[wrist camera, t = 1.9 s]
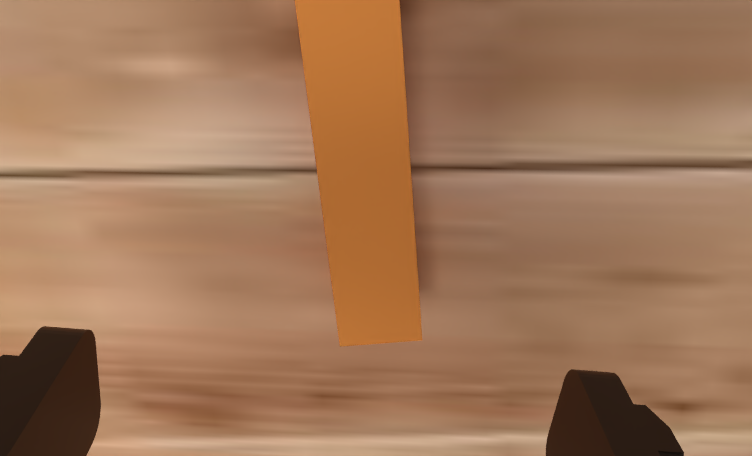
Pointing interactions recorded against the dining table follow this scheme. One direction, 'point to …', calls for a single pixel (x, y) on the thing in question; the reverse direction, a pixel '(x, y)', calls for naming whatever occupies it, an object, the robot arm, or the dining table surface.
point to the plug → (363, 165)
